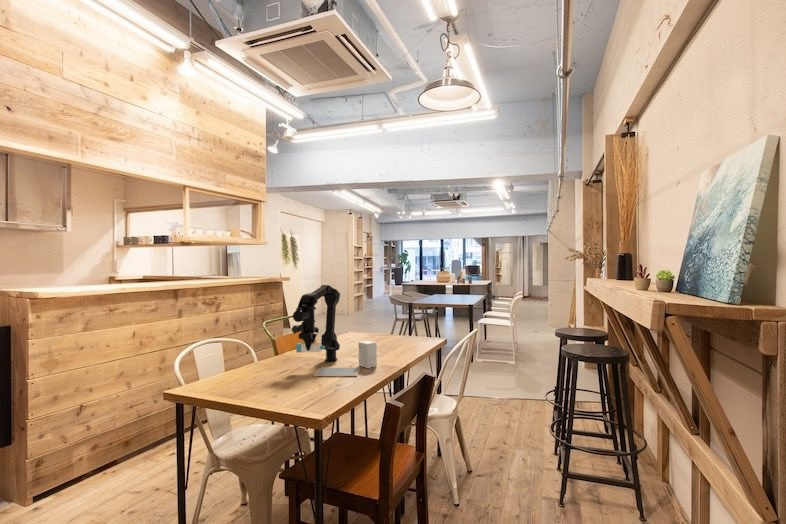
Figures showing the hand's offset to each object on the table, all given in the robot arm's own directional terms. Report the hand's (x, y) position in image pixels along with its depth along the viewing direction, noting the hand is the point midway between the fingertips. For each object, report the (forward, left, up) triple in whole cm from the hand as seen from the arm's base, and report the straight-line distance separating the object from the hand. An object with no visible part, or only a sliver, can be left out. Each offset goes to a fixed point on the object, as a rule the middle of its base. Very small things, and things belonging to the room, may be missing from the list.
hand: (309, 349), depth 218 cm
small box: (-8, +29, -11) cm, 32 cm away
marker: (0, 0, -1) cm, 1 cm away
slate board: (+4, +15, -11) cm, 19 cm away
